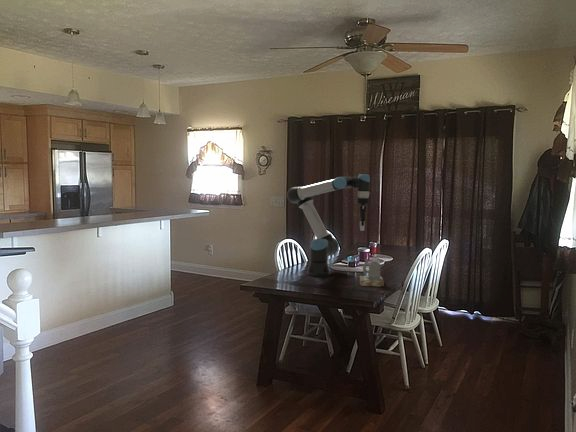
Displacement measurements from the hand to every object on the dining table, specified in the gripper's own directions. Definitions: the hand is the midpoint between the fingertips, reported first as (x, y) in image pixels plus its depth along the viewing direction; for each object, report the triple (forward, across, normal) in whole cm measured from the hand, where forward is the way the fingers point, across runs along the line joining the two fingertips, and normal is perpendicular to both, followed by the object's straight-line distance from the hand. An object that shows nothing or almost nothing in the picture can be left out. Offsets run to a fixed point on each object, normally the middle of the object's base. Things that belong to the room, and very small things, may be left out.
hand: (361, 229), depth 319 cm
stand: (+31, -21, -7) cm, 38 cm away
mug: (+28, -20, -6) cm, 35 cm away
